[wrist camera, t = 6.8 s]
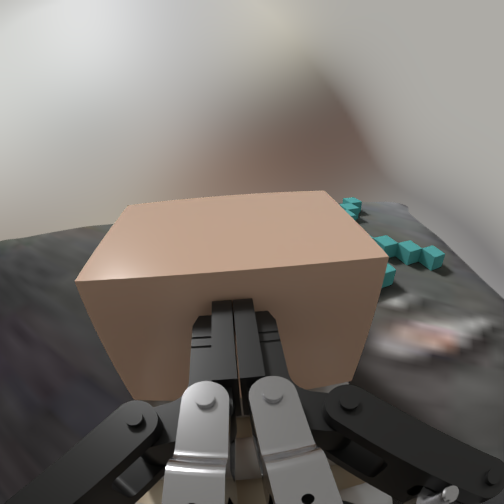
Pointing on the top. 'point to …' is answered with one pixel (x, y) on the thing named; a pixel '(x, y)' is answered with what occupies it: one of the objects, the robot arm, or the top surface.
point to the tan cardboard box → (233, 284)
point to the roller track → (249, 478)
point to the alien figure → (398, 247)
